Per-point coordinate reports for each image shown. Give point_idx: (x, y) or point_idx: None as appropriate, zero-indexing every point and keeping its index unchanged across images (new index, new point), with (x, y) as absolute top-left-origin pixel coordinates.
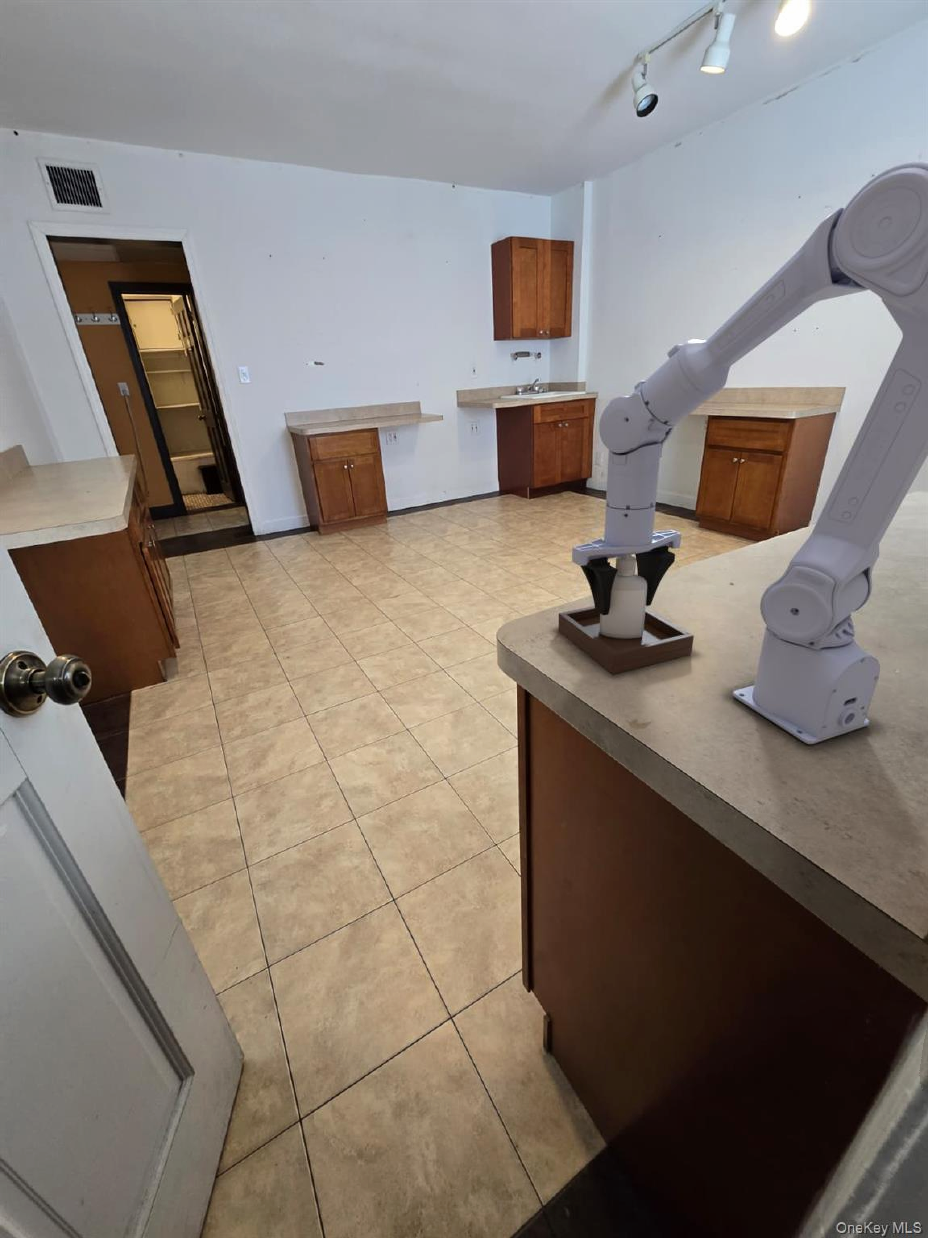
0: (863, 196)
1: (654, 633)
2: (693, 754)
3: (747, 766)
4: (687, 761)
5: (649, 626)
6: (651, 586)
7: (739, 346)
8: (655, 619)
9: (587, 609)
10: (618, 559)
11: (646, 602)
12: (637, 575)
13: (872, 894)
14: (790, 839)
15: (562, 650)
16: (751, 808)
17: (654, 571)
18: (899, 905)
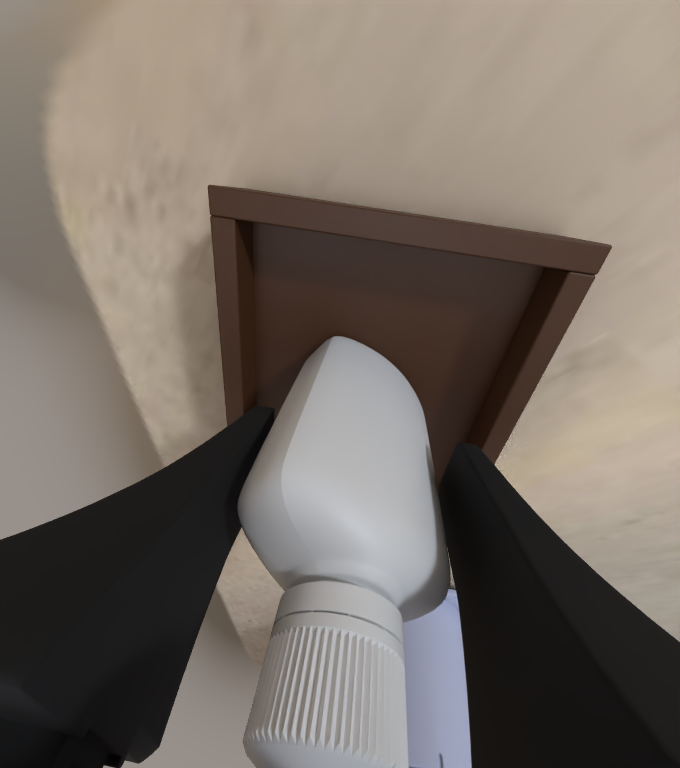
0: None
1: (441, 437)
2: (240, 583)
3: (275, 608)
4: (227, 583)
5: (473, 403)
6: (455, 579)
7: None
8: (484, 435)
9: (346, 234)
10: (247, 752)
11: (442, 494)
12: (411, 612)
13: (253, 657)
14: (242, 635)
15: (198, 320)
16: (238, 619)
17: (471, 688)
18: (260, 663)
